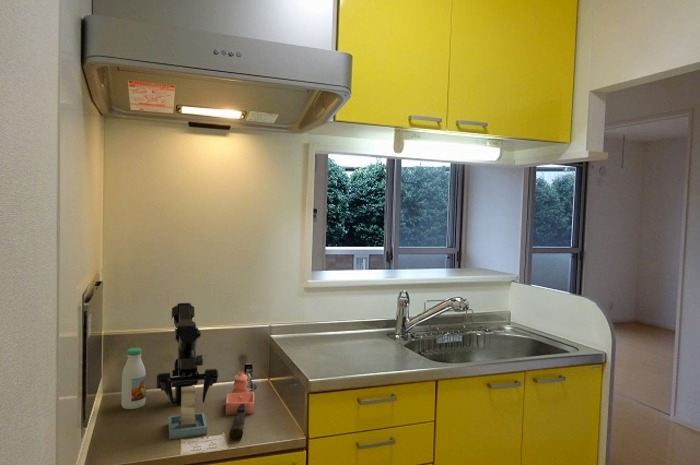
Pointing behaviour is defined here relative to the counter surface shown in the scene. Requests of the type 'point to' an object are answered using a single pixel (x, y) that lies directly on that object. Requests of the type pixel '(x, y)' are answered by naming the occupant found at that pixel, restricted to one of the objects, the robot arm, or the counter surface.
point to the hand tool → (238, 424)
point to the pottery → (240, 396)
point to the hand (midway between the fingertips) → (188, 403)
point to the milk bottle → (133, 380)
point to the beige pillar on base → (187, 407)
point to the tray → (187, 432)
